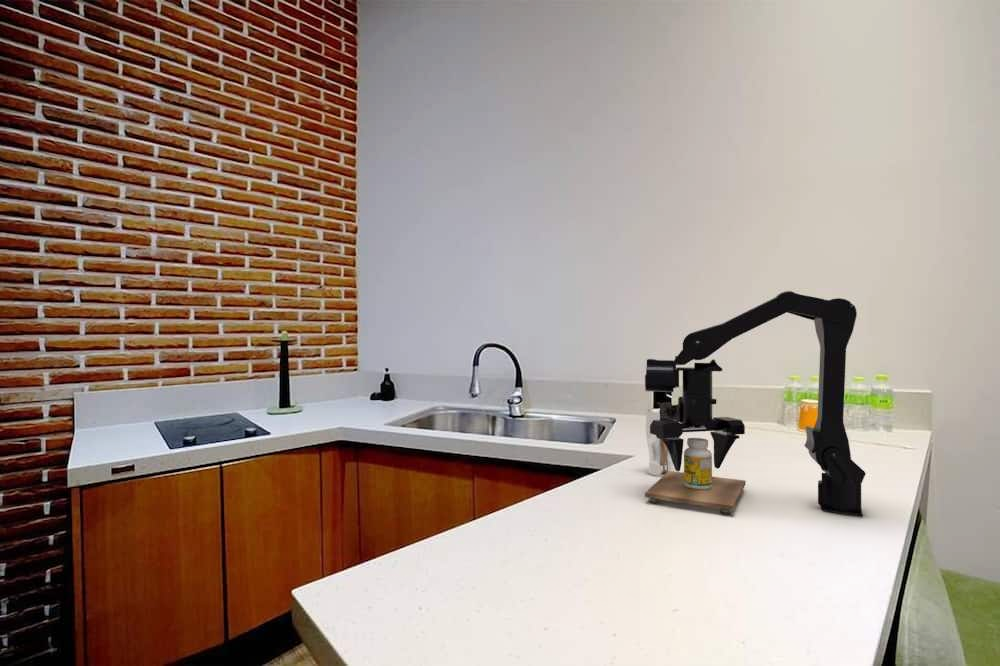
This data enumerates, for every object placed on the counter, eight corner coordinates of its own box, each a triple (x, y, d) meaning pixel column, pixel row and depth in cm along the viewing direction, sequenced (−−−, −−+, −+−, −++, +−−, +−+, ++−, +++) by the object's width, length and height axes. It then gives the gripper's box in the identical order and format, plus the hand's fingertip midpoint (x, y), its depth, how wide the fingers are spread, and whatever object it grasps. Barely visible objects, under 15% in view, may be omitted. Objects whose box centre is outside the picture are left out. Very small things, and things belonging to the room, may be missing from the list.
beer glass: (680, 477, 125) (680, 412, 125) (649, 477, 125) (649, 412, 125) (671, 469, 132) (671, 408, 132) (642, 469, 132) (642, 408, 132)
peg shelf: (745, 490, 115) (745, 480, 115) (733, 517, 98) (733, 506, 98) (668, 479, 123) (668, 471, 123) (644, 503, 106) (644, 492, 106)
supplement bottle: (717, 489, 108) (717, 441, 109) (695, 491, 107) (695, 442, 107) (700, 482, 114) (700, 436, 114) (678, 484, 112) (678, 437, 112)
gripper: (711, 388, 121) (712, 458, 120) (636, 390, 116) (636, 463, 116) (746, 393, 110) (746, 470, 110) (664, 395, 105) (665, 476, 105)
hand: (697, 469), depth 110 cm, fingers open, 9 cm apart
